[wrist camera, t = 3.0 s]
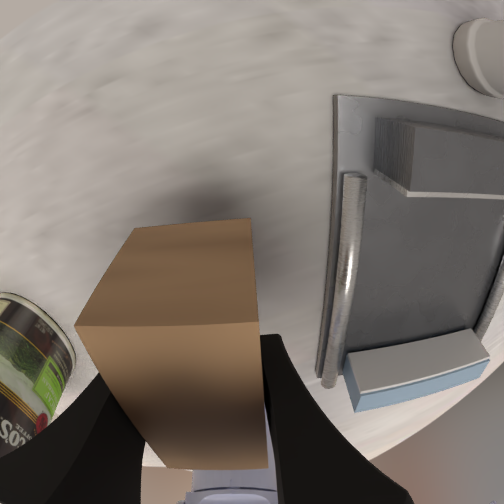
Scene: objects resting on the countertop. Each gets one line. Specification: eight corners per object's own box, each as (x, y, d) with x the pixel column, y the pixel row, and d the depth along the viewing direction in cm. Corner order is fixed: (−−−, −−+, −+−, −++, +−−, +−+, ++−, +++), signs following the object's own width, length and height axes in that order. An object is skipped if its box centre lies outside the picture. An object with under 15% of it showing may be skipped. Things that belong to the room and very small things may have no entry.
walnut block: (261, 374, 14) (268, 468, 10) (180, 377, 14) (167, 468, 10) (250, 217, 10) (258, 321, 6) (134, 228, 10) (73, 325, 6)
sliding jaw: (460, 346, 22) (479, 377, 19) (342, 372, 22) (354, 412, 19) (469, 326, 21) (491, 357, 18) (347, 351, 21) (361, 393, 18)
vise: (468, 340, 23) (491, 374, 19) (315, 370, 23) (326, 419, 19) (527, 129, 14) (573, 147, 10) (333, 94, 14) (370, 96, 9)
